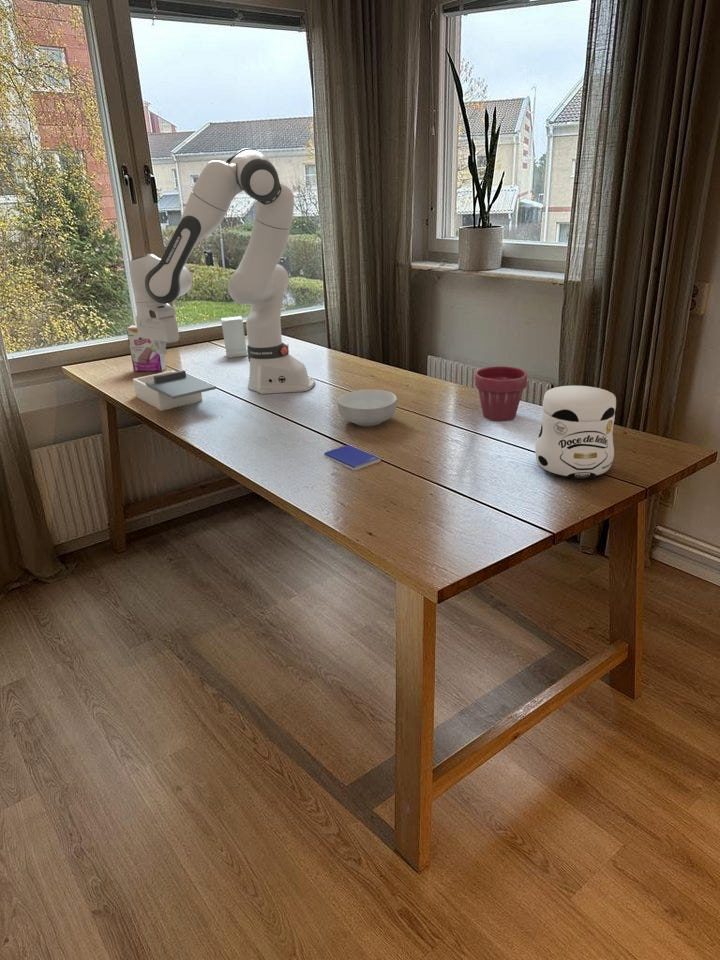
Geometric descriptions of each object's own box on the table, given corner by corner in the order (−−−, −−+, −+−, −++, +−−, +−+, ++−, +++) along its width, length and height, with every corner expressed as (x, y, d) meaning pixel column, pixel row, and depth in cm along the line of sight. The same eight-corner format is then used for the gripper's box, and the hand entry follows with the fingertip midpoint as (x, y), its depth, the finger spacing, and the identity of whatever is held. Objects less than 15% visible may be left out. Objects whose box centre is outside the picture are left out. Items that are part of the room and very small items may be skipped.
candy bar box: (133, 372, 249) (125, 328, 242) (138, 368, 254) (130, 325, 247) (162, 372, 248) (155, 327, 241) (167, 368, 252) (160, 324, 246)
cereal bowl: (330, 417, 196) (329, 393, 193) (383, 408, 201) (383, 386, 198) (350, 436, 181) (349, 411, 178) (406, 426, 187) (406, 402, 184)
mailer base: (135, 396, 221) (132, 378, 219) (175, 387, 229) (172, 370, 226) (161, 410, 207) (157, 392, 204) (202, 400, 214) (199, 382, 212)
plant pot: (463, 416, 193) (464, 372, 187) (495, 404, 201) (497, 362, 195) (502, 428, 182) (505, 382, 177) (534, 416, 191) (538, 372, 185)
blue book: (380, 457, 165) (349, 444, 174) (354, 466, 160) (323, 452, 169) (380, 463, 165) (349, 449, 174) (354, 472, 161) (324, 458, 170)
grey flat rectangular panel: (145, 384, 211) (144, 376, 209) (187, 376, 218) (185, 367, 217) (173, 399, 196) (171, 389, 195) (216, 388, 204) (215, 379, 203)
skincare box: (246, 352, 270) (242, 315, 264) (247, 356, 265) (243, 318, 258) (225, 354, 268) (220, 317, 262) (225, 358, 263) (221, 320, 257)
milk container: (579, 492, 146) (588, 413, 138) (518, 467, 159) (523, 394, 151) (627, 471, 155) (637, 396, 147) (565, 449, 168) (572, 379, 160)
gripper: (127, 309, 213) (137, 352, 219) (159, 313, 199) (169, 359, 205) (145, 306, 217) (154, 348, 223) (178, 309, 203) (187, 354, 209)
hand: (161, 353), depth 214 cm, fingers closed
